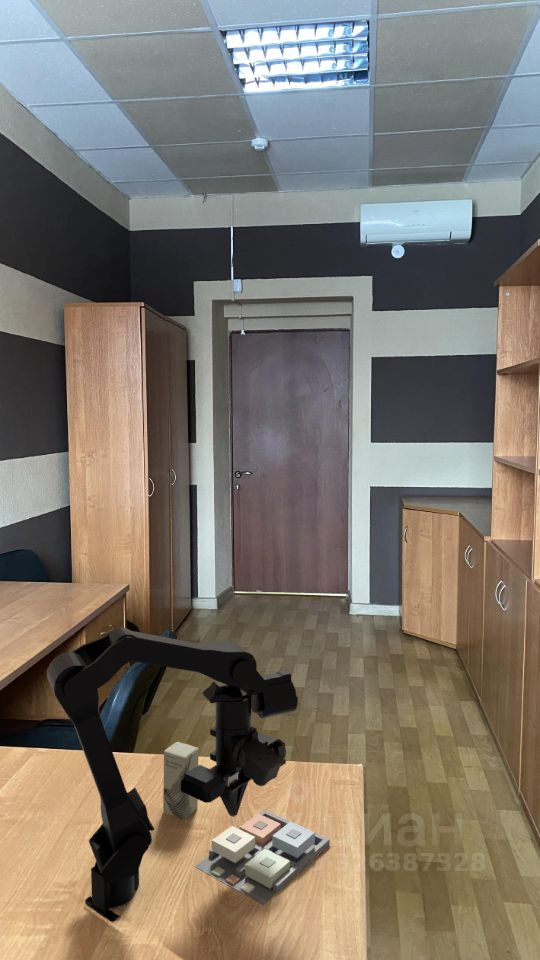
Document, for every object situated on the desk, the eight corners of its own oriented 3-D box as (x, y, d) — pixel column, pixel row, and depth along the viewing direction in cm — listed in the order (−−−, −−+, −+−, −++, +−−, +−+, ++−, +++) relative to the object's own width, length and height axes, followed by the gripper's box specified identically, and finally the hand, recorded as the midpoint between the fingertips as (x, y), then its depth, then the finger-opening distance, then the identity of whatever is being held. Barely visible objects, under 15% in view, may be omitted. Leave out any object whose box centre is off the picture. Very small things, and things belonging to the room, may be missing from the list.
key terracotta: (262, 848, 115) (262, 837, 114) (239, 836, 118) (239, 826, 117) (280, 833, 119) (280, 823, 118) (258, 823, 122) (258, 812, 121)
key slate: (297, 858, 110) (297, 846, 110) (272, 846, 113) (272, 835, 113) (314, 842, 114) (314, 831, 114) (290, 831, 117) (290, 820, 117)
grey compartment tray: (263, 912, 102) (263, 898, 102) (194, 873, 111) (194, 860, 110) (329, 851, 116) (329, 839, 116) (264, 821, 125) (264, 809, 125)
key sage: (270, 888, 105) (270, 876, 105) (245, 875, 108) (245, 863, 108) (289, 871, 109) (289, 860, 109) (264, 859, 112) (264, 847, 112)
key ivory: (235, 863, 109) (235, 851, 109) (211, 850, 112) (211, 839, 112) (255, 847, 113) (255, 836, 113) (232, 835, 116) (232, 825, 116)
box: (162, 818, 126) (161, 750, 124) (176, 806, 129) (175, 740, 128) (186, 826, 123) (185, 757, 122) (199, 813, 127) (199, 746, 126)
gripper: (233, 761, 98) (233, 864, 100) (308, 716, 113) (306, 807, 114) (177, 738, 105) (178, 835, 106) (255, 698, 120) (254, 784, 121)
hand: (233, 815), depth 112 cm, fingers closed
